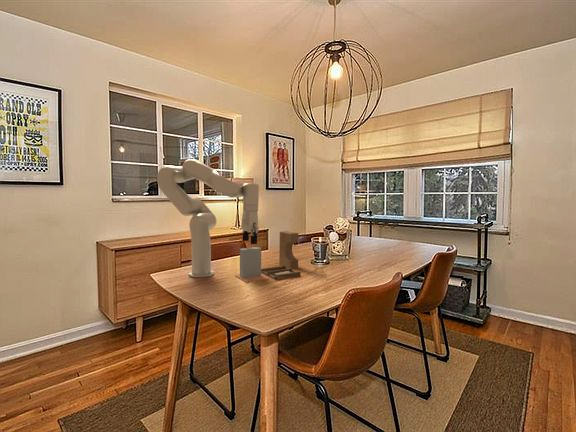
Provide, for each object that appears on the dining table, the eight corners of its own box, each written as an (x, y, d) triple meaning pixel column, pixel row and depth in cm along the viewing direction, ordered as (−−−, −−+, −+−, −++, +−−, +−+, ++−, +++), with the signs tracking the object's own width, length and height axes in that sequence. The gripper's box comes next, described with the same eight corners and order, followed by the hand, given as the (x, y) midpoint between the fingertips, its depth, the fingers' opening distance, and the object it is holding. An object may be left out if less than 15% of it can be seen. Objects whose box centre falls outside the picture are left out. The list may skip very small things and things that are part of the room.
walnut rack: (261, 273, 168) (261, 268, 168) (284, 270, 175) (284, 265, 175) (275, 280, 155) (275, 275, 154) (300, 276, 162) (300, 271, 162)
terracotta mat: (235, 275, 162) (235, 274, 162) (256, 272, 169) (256, 271, 169) (246, 282, 151) (246, 281, 150) (268, 279, 157) (268, 278, 157)
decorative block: (298, 268, 180) (299, 233, 178) (290, 269, 177) (291, 233, 175) (286, 264, 189) (287, 230, 187) (278, 265, 185) (279, 231, 184)
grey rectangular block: (239, 276, 160) (239, 248, 158) (257, 273, 165) (257, 247, 164) (243, 278, 156) (242, 250, 155) (261, 275, 161) (261, 248, 160)
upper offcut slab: (273, 276, 161) (273, 273, 161) (287, 273, 167) (287, 271, 167) (279, 278, 157) (279, 275, 157) (293, 275, 163) (293, 273, 163)
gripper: (236, 206, 163) (235, 240, 164) (251, 209, 148) (250, 245, 150) (250, 207, 167) (249, 239, 168) (265, 209, 152) (264, 244, 154)
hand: (249, 242), depth 159 cm, fingers open, 9 cm apart
